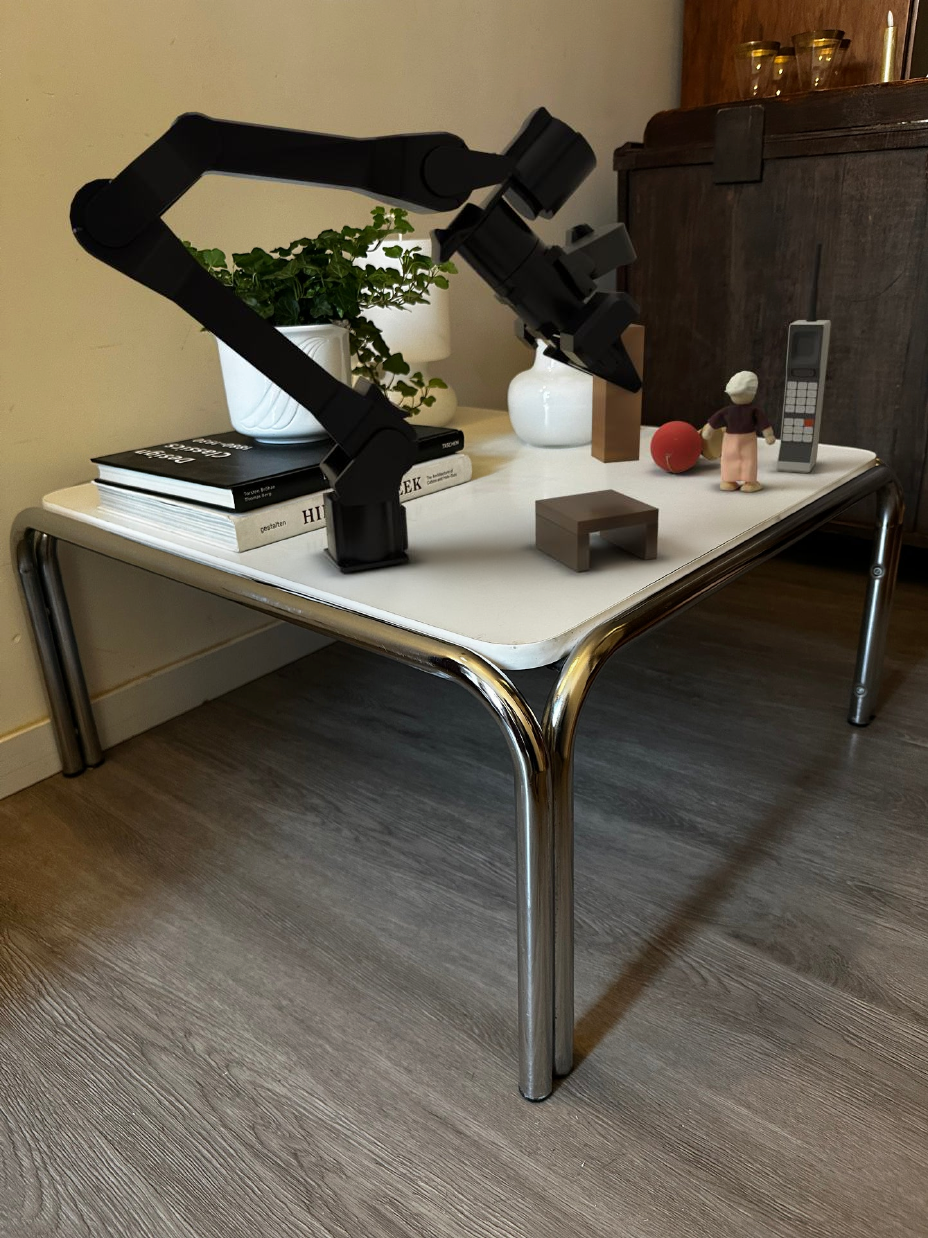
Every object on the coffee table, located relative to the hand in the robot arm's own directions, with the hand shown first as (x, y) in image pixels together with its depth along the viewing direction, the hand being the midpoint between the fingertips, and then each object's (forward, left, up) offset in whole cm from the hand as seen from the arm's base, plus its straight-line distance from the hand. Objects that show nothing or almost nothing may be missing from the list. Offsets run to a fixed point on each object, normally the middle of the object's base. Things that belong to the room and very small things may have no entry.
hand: (631, 386), depth 85 cm
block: (-1, 0, -7) cm, 7 cm away
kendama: (+23, +20, -14) cm, 33 cm away
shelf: (-6, -5, -14) cm, 16 cm away
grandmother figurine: (+19, +7, -14) cm, 24 cm away
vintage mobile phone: (+31, +11, -14) cm, 35 cm away
